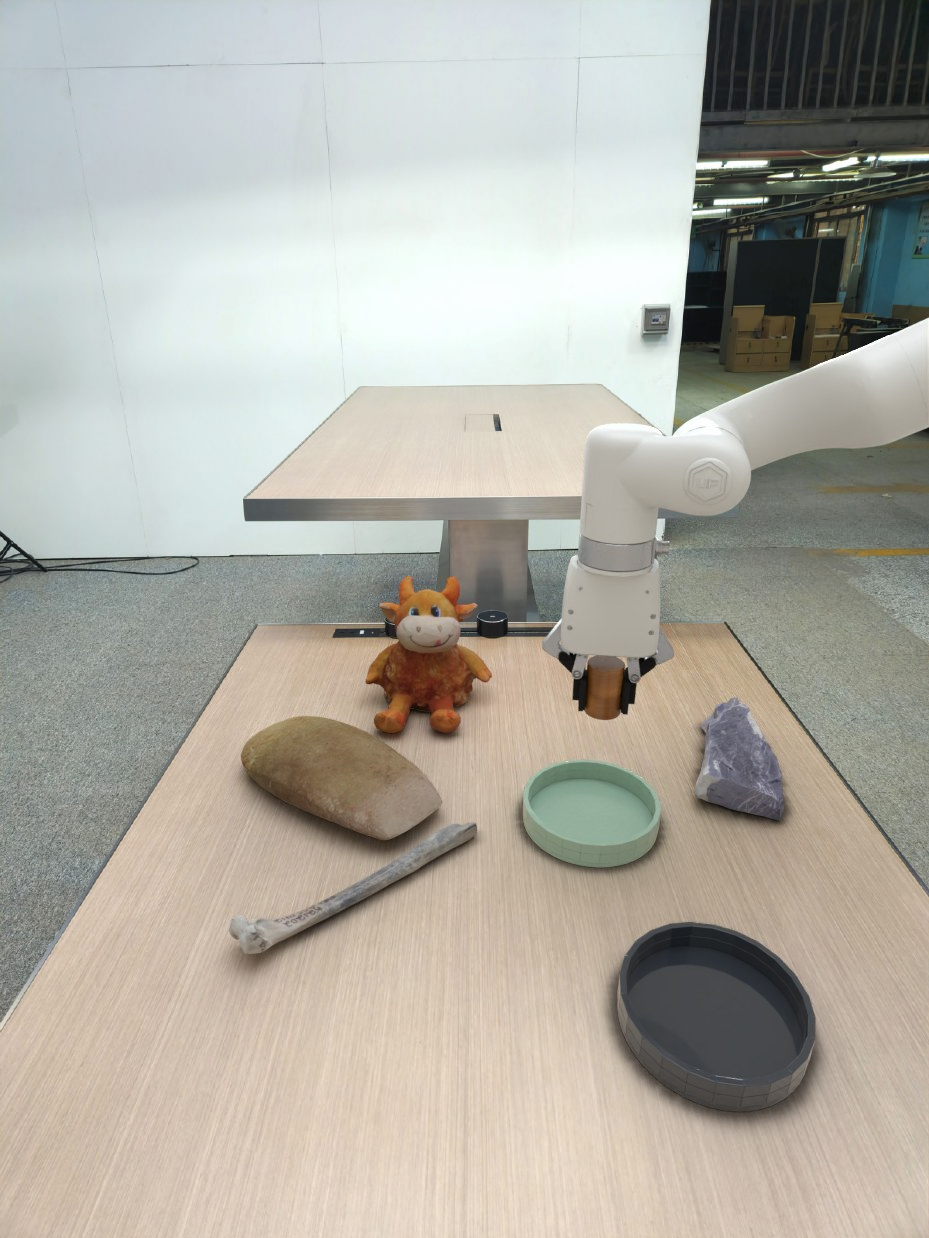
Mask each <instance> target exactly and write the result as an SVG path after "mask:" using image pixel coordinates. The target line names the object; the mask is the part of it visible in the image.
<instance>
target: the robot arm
mask: <svg viewBox="0 0 929 1238" xmlns="http://www.w3.org/2000/svg"><path fill="white" fill-rule="evenodd" d="M928 428H929V317H927V318H925V319H923V320H920V321H918V322H916V323H914V324H912V325H909V326H908V327H905V328H904V329H901V330H899V331H896V332H894V333H892V334H890V335H886V336H885V337H882V338H880V339H878V340H875V341H873V342H871V343H869V344H867V345H864V346H861V347H859V348H857V349H855V350H852V351H850V352H848V353H846V354H844V355H840V356H838V357H836V358H832V359H829V360H827V361H824V362H821V363H819V364H817V365H815V366H812V367H810V368H807V369H805V370H803V371H801V372H798V373H794V374H792V375H789V376H787V377H783V378H781V379H778V380H775V381H773V382H771V383H768V384H765V385H762V386H761V387H758V388H756V389H753V390H751V391H749V392H747V393H744V394H741V395H740V396H737V397H736V398H733V399H731V400H728V401H726V402H724V403H722V404H720V405H717V406H715V407H713V408H711V409H709V410H707V411H704V412H702V413H700V414H698V415H697V416H696V415H695V416H694V417H692V418H691V419H689V420H687V421H686V422H684V423H683V424H682V425H681V426H679V427H678V428H677V429H676V431H674V433H673V434H672V435H670V436H669V435H663V433H662V432H661V431H660V430H659V429H657V428H656V427H652V426H650V425H647V424H640V423H630V422H627V423H626V422H621V423H620V422H619V423H617V422H616V423H605V424H601V425H598V426H596V427H594V428H593V429H591V430H590V431H589V432H588V434H587V436H586V438H585V443H584V450H583V451H584V453H583V466H582V467H583V469H582V482H581V483H582V484H581V503H580V516H579V533H578V548H577V549H578V550H577V554H575V555H573V556H571V558H570V559H569V563H568V567H567V571H566V576H565V582H564V586H563V595H562V603H561V604H562V605H561V615H560V619H559V620H558V622H557V623H556V624H555V626H554V627H553V628H552V629H551V630H550V631H549V632H548V634H547V635H546V636H545V637H544V638H543V640H542V643H541V649H542V651H544V652H545V653H547V654H548V655H550V656H552V658H554V659H556V660H558V662H559V663H560V664H561V665H562V666H563V667H564V668H565V669H566V670H567V671H568V672H569V673H570V675H571V677H572V678H573V681H572V699H571V700H572V701H577V704H578V705H577V712H584V710H585V701H586V687H587V668H586V667H587V662H588V660H589V656H612V657H617V658H626V665H627V667H625V670H624V679H623V689H622V700H621V712H620V714H622V715H624V716H625V715H628V714H629V705H635V703H636V694H637V685H638V683H639V682H640V681H641V678H642V677H644V676H645V675H646V674H648V673H650V672H651V671H652V670H654V669H655V668H656V666H658V665H662V664H664V663H665V662H668V661H670V660H672V659H674V658H675V650H674V647H673V646H672V644H671V643H670V640H669V639H668V637H667V636H666V634H665V632H664V631H663V629H662V628H661V626H660V623H661V622H660V621H661V603H662V601H661V598H662V597H661V570H660V562H659V561H658V560H656V559H657V558H658V557H660V556H669V554H670V548H671V547H670V541H666V540H665V541H664V540H662V539H659V538H658V536H656V535H657V526H658V518H659V509H664V510H668V511H673V512H678V513H681V514H685V515H690V516H697V517H711V516H718V515H722V514H725V513H726V512H729V511H730V510H732V509H733V508H735V507H736V506H737V505H738V504H739V503H741V502H742V500H743V499H744V498H745V496H746V495H747V492H748V491H749V488H750V484H751V481H752V471H754V470H756V469H758V468H762V467H764V466H766V465H768V464H771V463H774V462H776V461H780V460H782V459H785V458H788V457H791V456H794V455H797V454H801V453H805V452H811V451H817V450H824V449H825V450H826V449H851V450H852V449H856V450H857V449H866V448H874V447H879V446H885V445H888V444H891V443H893V442H897V441H898V440H902V439H903V438H906V437H908V436H910V435H913V434H915V433H918V432H920V431H923V430H926V429H928Z"/></svg>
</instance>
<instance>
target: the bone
mask: <svg viewBox="0 0 929 1238" xmlns="http://www.w3.org/2000/svg"><path fill="white" fill-rule="evenodd" d="M477 832H478V825H477V823H476V822H467V823H464V824H459V823H452V824H450V825H447V826H445V827H442V828H440V829H439V830H437V831H436V832H434V833H433V834H432V835H430V836H429V837H428V838H426V839H425V840H423V841H422V842H420V843H418V844H417V845H416V846H414V847H413V848H411V849H410V850H408V851H407V852H405V853H404V854H402V855H401V856H400V857H398V858H396V859H395V860H393V861H392V862H390V863H389V864H387V865H385V866H384V867H382V868H380V869H379V870H376V871H374V872H373V873H372V874H370V875H368V876H367V877H365V878H363V879H362V880H360V881H358V882H356V883H354V884H352V885H351V886H348V887H347V888H345V889H343V890H341V891H339V892H337V893H335V894H333V895H330V896H329V897H327V898H325V899H323V900H321V901H319V902H317V903H315V904H313V905H310V906H309V907H307V908H303V909H302V910H300V911H297V912H294V913H292V914H288V915H286V916H283V917H278V918H271V919H270V918H265V917H254V918H252V919H249V920H248V919H247V917H246V916H244V915H241V914H240V915H239V914H238V915H237V914H235V915H234V916H233V917H232V918H231V920H230V925H229V927H228V933H229V935H230V936H231V937H232V938H233V939H234V940H237V941H239V945H240V948H241V950H242V952H243V953H244V954H246V955H253V954H260V953H263V952H265V951H268V949H270V948H272V946H274V945H276V944H279V943H280V942H283V941H284V940H287V939H289V938H290V937H293V936H294V935H297V934H298V933H301V932H303V931H304V930H307V929H308V928H310V927H312V926H314V925H316V924H318V923H320V922H322V921H324V920H326V919H329V918H331V917H333V916H334V915H336V914H338V913H340V912H342V911H344V910H346V909H348V908H349V907H351V906H354V905H355V904H357V903H359V902H361V901H363V900H365V899H366V898H368V897H370V896H372V895H374V894H376V893H377V892H379V891H381V890H382V889H384V888H386V887H387V886H389V885H391V884H393V883H395V882H396V881H398V880H401V879H402V878H404V877H406V876H408V875H410V874H412V873H414V872H416V871H418V870H419V869H420V868H422V867H423V866H425V865H426V864H428V863H430V862H431V861H433V860H436V858H438V857H440V856H441V855H443V854H445V853H447V852H449V851H451V850H453V849H455V848H456V847H459V846H461V845H462V844H464V843H466V842H468V841H469V840H471V839H472V838H474V837H475V835H476V834H477Z"/></svg>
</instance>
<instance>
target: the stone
mask: <svg viewBox="0 0 929 1238" xmlns="http://www.w3.org/2000/svg"><path fill="white" fill-rule="evenodd" d="M240 761H241V764H242V767H243V768H244V769H245V770H246V772H247V774H248V775H249V776H250V777H251V778H252V780H253V781H254V782H255V783H256V784H257V785H258V786H259V787H261V788H262V789H263V790H265V791H267V792H268V793H270V794H272V795H273V796H275V797H276V798H277V799H280V800H281V801H283V802H286V803H287V804H289V805H292V806H294V807H296V808H298V809H301V810H302V811H305V812H307V813H309V814H311V815H314V816H316V817H318V818H321V819H323V820H326V821H328V822H331V823H335V824H337V825H339V826H341V827H344V828H346V829H349V830H351V831H354V832H355V833H360V834H362V835H364V836H368V837H370V838H371V837H372V838H374V839H377V840H381V841H388V840H391V839H394V838H396V837H399V836H400V835H402V834H404V833H406V832H407V831H409V830H411V829H413V828H414V827H415V826H417V825H418V824H420V823H421V822H422V821H424V820H425V819H427V818H428V817H429V816H431V814H433V813H434V812H435V811H436V810H438V809H439V808H440V807H441V806H442V804H443V799H442V796H441V794H440V793H439V791H438V790H437V789H436V787H435V786H434V785H433V783H432V781H431V780H430V779H429V778H428V776H427V775H426V774H425V772H423V770H421V768H419V767H418V766H417V765H416V764H415V763H413V762H411V760H409V759H408V758H407V757H405V756H404V755H403V754H401V753H400V752H398V751H397V750H396V749H394V748H393V746H391V745H389V744H388V743H386V742H384V741H383V740H381V739H379V738H378V737H376V736H375V735H372V734H371V733H369V732H367V731H365V730H362V729H361V728H359V727H356V726H354V725H351V724H349V723H346V722H343V721H339V720H337V719H333V718H328V717H323V716H315V715H314V716H312V715H298V716H293V717H290V718H287V719H284V720H281V721H278V722H275V723H274V724H271V725H269V726H267V727H265V728H263V729H260V731H258V732H257V733H255V734H254V735H252V736H251V737H250V738H249V739H248V740H247V741H246V743H245V744H244V746H243V747H242V750H241V753H240Z"/></svg>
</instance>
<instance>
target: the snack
mask: <svg viewBox="0 0 929 1238" xmlns="http://www.w3.org/2000/svg"><path fill="white" fill-rule="evenodd" d="M625 668H626V664H625V662H624V660H623V659H621V657H612V656H596V655H592V656H591V657H588V659H587V662H586V670H587V687H586V701H585V710H583V712H584V713H585V714H586V715H587V716H588V717H590V718H592V719H594V720H598V721H599V720H600V721H611V720H614V719H617V718H618V717H619V716H620V715H621V700H622V689H623V679H624V670H625Z"/></svg>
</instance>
